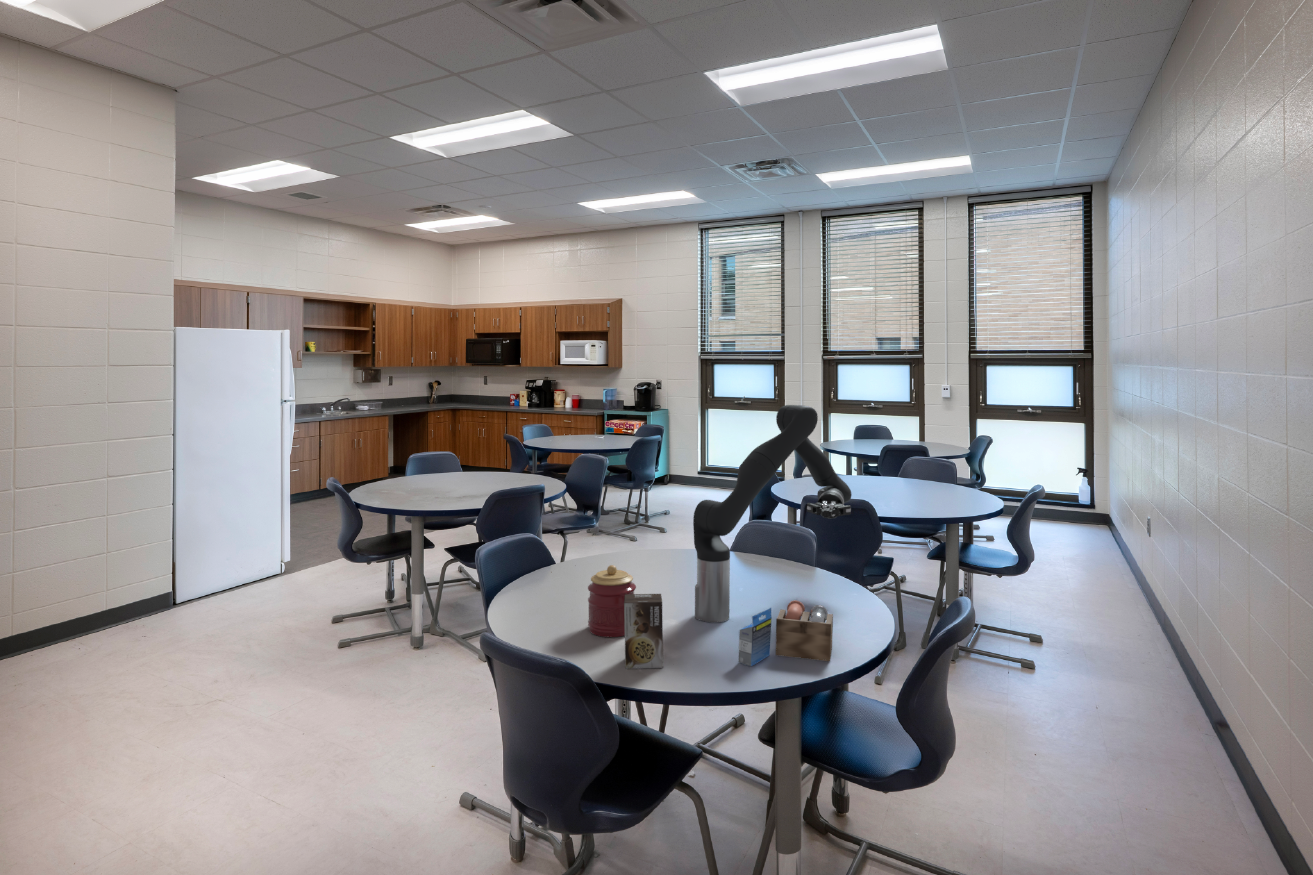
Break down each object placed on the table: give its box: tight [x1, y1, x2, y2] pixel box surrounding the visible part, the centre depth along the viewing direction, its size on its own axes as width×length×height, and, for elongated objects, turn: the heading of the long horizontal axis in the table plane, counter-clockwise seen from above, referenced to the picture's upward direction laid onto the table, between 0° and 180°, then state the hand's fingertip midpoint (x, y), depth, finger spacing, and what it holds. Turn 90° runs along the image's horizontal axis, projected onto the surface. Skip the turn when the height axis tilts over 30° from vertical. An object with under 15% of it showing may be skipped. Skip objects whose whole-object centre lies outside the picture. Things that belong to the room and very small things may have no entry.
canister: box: [587, 564, 637, 638], centre depth 193 cm, size 13×13×18 cm
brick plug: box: [785, 599, 806, 620], centre depth 182 cm, size 4×10×4 cm, turn 163°
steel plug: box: [809, 604, 829, 623], centre depth 178 cm, size 4×10×4 cm, turn 163°
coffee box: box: [624, 593, 664, 670], centre depth 171 cm, size 9×6×16 cm
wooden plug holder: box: [775, 609, 834, 662], centre depth 178 cm, size 13×8×9 cm, turn 73°
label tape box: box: [737, 607, 772, 667], centre depth 173 cm, size 9×4×12 cm, turn 141°
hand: (826, 514), depth 200 cm, fingers closed
